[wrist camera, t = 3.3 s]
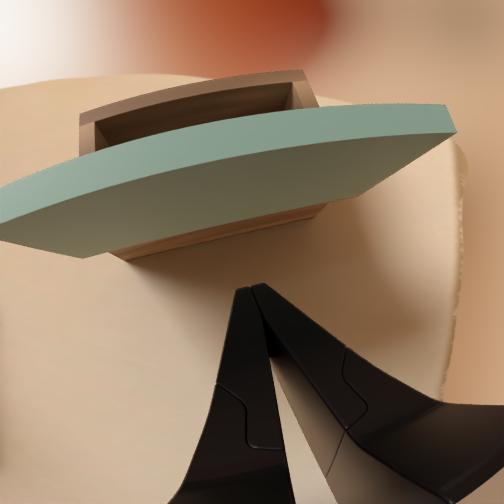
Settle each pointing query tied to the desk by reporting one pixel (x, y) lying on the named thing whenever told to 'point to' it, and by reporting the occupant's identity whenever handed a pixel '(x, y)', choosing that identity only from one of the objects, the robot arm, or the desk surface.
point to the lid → (215, 175)
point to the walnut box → (190, 114)
